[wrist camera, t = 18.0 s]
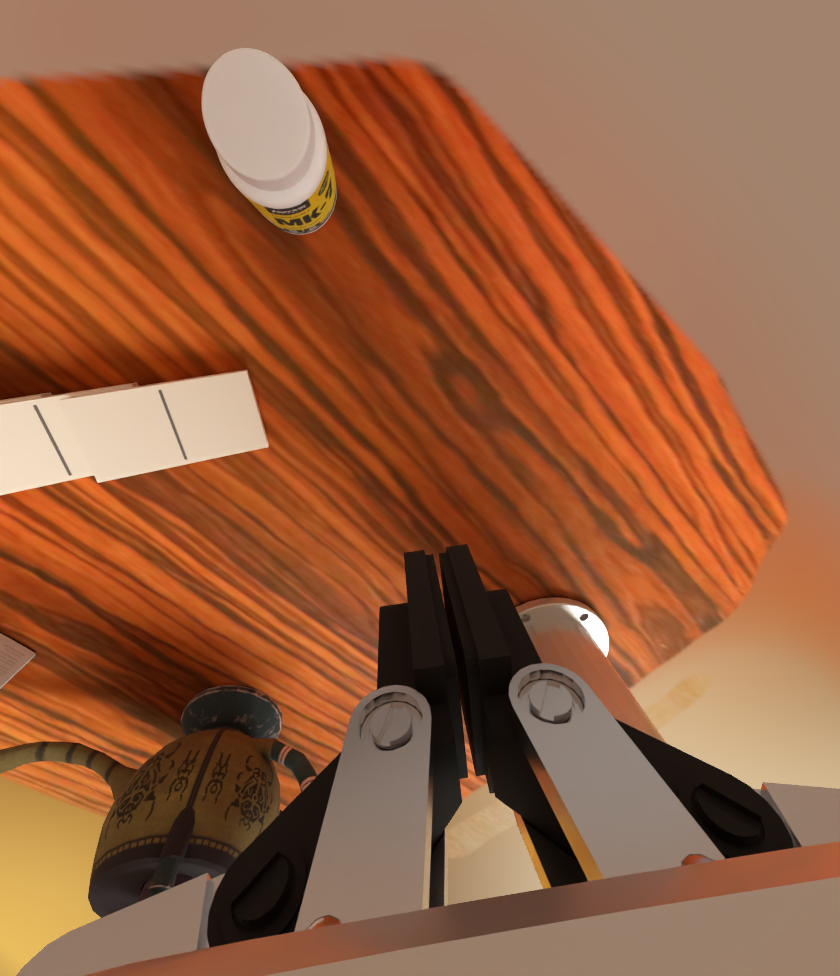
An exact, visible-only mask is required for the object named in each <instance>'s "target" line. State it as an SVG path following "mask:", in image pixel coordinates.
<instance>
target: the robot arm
mask: <svg viewBox="0 0 840 976" xmlns="http://www.w3.org/2000/svg"><path fill="white" fill-rule="evenodd" d="M404 559H405V572H406V585H407V598H408V603H403V604H396V605H389V606H382V607H380V613H379V646H378V678H377V690H375V691H373V692H371V693H370V694H369V695H367V696H366V697H364V698H363V699H362V700H361V701H360V703H359V704H358V705H357V706H356V708H355V709H354V711H353V714H352V716H351V718H350V721H349V725H348V729H347V733H346V736H345V740H344V744H343V748H342V752H341V753H340V754H339V755H338V756H337V757H336V758H335V759H334V760H333V761H332V762H331V763H330V764H329V765H328V766H327V767H326V768H325V769H324V770H323V771H322V772H321V773H320V774H319V775H318V776H317V777H316V778H315V779H314V780H313V781H312V782H311V783H310V784H309V785H308V786H307V787H306V788H305V789H304V790H303V791H302V792H301V793H300V794H299V795H298V796H297V797H296V798H295V799H294V800H293V801H292V802H291V803H290V804H289V805H288V806H287V807H286V808H285V809H284V810H283V811H282V812H281V813H280V815H279V816H278V817H277V818H276V819H275V820H274V821H273V822H272V823H271V824H270V825H269V826H268V827H267V828H266V829H265V830H264V831H263V832H262V833H261V834H260V835H259V836H258V837H257V838H256V839H255V840H254V841H253V842H252V843H251V844H250V845H249V846H248V847H247V848H246V849H245V850H244V851H243V852H242V853H241V854H240V855H239V857H238V858H237V859H236V860H235V861H234V863H233V864H232V865H231V866H230V868H229V869H228V870H227V871H226V873H224V874H222V875H220V876H217V877H215V878H213V879H211V878H210V876H209V874H208V873H206V874H203V875H201V876H199V877H196V878H194V879H192V880H189V881H187V882H185V883H182V884H180V885H178V886H175V887H173V888H171V889H168V890H166V891H163V892H161V893H159V894H156V895H154V896H152V897H149V898H147V899H145V900H142V901H140V902H138V903H135V904H133V905H131V906H128V907H126V908H124V909H121V910H119V911H117V912H114V913H112V914H110V915H107V916H105V917H103V918H100V919H98V920H96V921H93V922H91V923H89V924H87V925H84V926H82V927H79V928H77V929H75V930H72V931H70V932H68V933H66V934H65V935H63V936H61V937H60V938H58V939H56V940H55V941H53V942H51V943H50V944H48V945H47V946H45V947H44V948H43V949H42V950H41V951H40V952H39V953H38V954H37V955H36V956H35V957H33V958H32V959H31V960H30V961H29V962H28V963H27V964H26V965H25V966H24V967H23V968H22V969H21V970H20V972H19V973H18V974H17V976H840V789H834V788H822V787H810V786H799V785H787V784H776V783H765V782H763V784H762V788H761V790H759V789H752V788H751V787H750V786H748V785H747V784H745V783H743V782H742V781H740V780H738V779H737V778H735V777H733V776H732V775H730V774H728V773H726V772H724V771H722V770H720V769H718V768H716V767H713V766H711V765H709V764H707V763H705V762H703V761H701V760H699V759H697V758H695V757H693V756H691V755H689V754H687V753H685V752H683V751H681V750H679V749H677V748H675V747H672V746H670V745H668V744H667V743H666V742H665V740H664V739H663V738H662V736H661V735H660V733H659V732H658V730H657V729H656V728H655V726H654V725H653V723H652V722H651V720H650V719H649V717H648V716H647V715H646V713H645V712H644V710H643V709H642V707H641V706H640V704H639V703H638V702H637V700H636V699H635V697H634V696H633V694H632V693H631V692H630V690H629V689H628V687H627V686H626V684H625V683H624V681H623V680H622V679H621V677H620V676H619V674H618V673H617V671H616V670H615V668H614V667H613V666H612V664H611V663H610V661H609V660H608V658H607V653H608V649H609V636H608V632H607V629H606V627H605V625H604V623H603V621H602V620H601V619H600V618H599V616H598V615H597V614H596V613H595V612H594V611H593V610H592V609H591V608H590V607H588V606H587V605H585V604H583V603H581V602H579V601H576V600H572V599H568V598H558V597H552V598H541V599H537V600H533V601H529V602H527V603H524V604H522V605H520V606H517V607H515V606H514V604H513V602H512V599H511V597H510V595H509V593H508V592H507V590H505V589H502V590H495V591H488V592H486V591H485V588H484V586H483V583H482V581H481V578H480V576H479V573H478V571H477V568H476V566H475V563H474V561H473V558H472V556H471V553H470V551H469V548H468V546H467V544H465V545H457V546H450V547H446V553H439V559H440V568H441V577H442V586H443V596H444V603H443V599H442V594H441V589H440V585H439V580H438V575H437V571H436V566H435V562H434V557H433V554H432V555H425V552H424V550H421V551H414V552H407V553H404ZM444 605H445V608H444ZM460 701H461V703H460ZM461 706H462V711H463V715H464V720H465V725H466V730H467V735H468V740H469V745H470V750H471V755H472V759H473V764H474V769H475V773H476V776H480V775H486V779H487V783H488V787H489V791H490V793H495V797H496V798H498V799H499V800H500V801H502V802H503V803H504V804H506V805H507V806H508V807H510V808H511V809H512V810H514V815H515V818H516V822H517V826H518V828H519V830H520V833H521V835H522V838H523V840H524V842H525V845H526V847H527V850H528V852H529V855H530V857H531V860H532V862H533V865H534V867H535V870H536V872H537V875H538V877H539V879H540V882H541V884H542V887H543V889H541V890H535V891H529V892H524V893H517V894H511V895H506V896H499V897H494V898H488V899H482V900H476V901H470V902H464V903H458V904H453V905H448V904H447V903H448V902H447V901H448V900H447V897H448V895H447V894H448V834H447V827H446V826H447V825H448V823H449V822H450V820H451V819H452V817H453V816H454V814H455V812H456V811H457V809H458V808H459V806H460V805H461V803H462V798H461V789H460V780H459V779H461V778H468V772H467V762H466V752H465V742H464V732H463V722H462V713H461Z"/></svg>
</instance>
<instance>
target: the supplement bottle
mask: <svg viewBox="0 0 840 976" xmlns="http://www.w3.org/2000/svg"><path fill="white" fill-rule="evenodd" d="M201 103H202V115H203V120H204V124H205V127H206V130H207V133H208V135H209V138H210V140H211V142H212V144H213V146H214V147H215V149H216V151H217V154H218V157H219V160H220V162H221V165H222V167H223V169H224V171H225V172H226V174H227V176H228V177H229V179H230V180H231V182H232V183H233V184H234V186H235V187H236V188H237V189H238V190H239V191H240V192H241V193H242V194H243V195H244V196H245V197H246V198H247V199H248V200H249V201H250V202H251V203H252V204H253V205H254V206H255V207H256V208H257V209H258V210H259V211H260V212H261V213H262V215H263V216H264V217H266V219H267V220H268V221H269V222H270V223H272V224H273V225H274V226H276V227H277V228H279V229H281V230H283V231H285V232H288V233H291V234H297V235H303V234H309V233H312V232H314V231H316V230H318V229H319V228H321V227H322V226H323V225H324V224H325V223H326V222H327V220H328V219H329V218H330V216H331V214H332V212H333V210H334V207H335V203H336V198H337V185H336V178H335V173H334V169H333V165H332V160H331V156H330V152H329V149H328V144H327V140H326V136H325V132H324V129H323V125H322V123H321V120H320V118H319V116H318V114H317V112H316V110H315V108H314V106H313V104H312V103H311V102H310V100H309V99H308V97H307V96H306V95H305V94H304V93H303V91H302V90H301V88H300V86H299V84H298V82H297V81H296V79H295V78H294V76H293V75H292V74H291V72H290V71H289V70H288V69H287V68H286V67H285V66H284V65H283V64H282V63H281V62H280V61H279V60H277V59H276V58H274V57H273V56H271V55H270V54H268V53H266V52H264V51H261V50H258V49H253V48H237V49H233V50H231V51H228V52H226V53H224V54H223V55H221V56H220V57H219V58H218V59H217V60H216V61H215V62H214V63H213V65H212V66H211V68H210V69H209V71H208V73H207V75H206V78H205V80H204V84H203V89H202V101H201Z"/></svg>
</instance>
